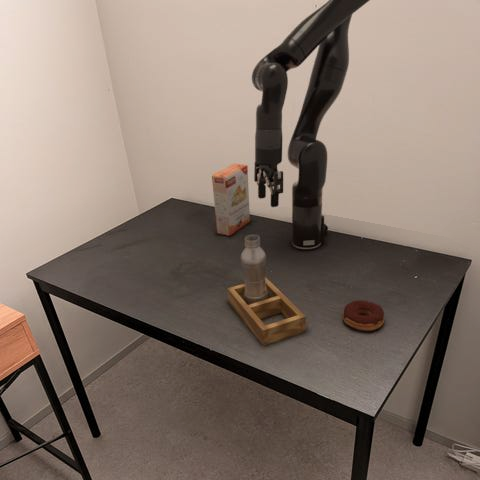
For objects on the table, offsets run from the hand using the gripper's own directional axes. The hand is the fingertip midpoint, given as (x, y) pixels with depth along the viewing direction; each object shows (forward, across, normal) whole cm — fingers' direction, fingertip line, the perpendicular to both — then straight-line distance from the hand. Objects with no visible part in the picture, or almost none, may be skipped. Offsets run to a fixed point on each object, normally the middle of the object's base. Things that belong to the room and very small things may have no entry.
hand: (268, 202), depth 134 cm
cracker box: (+18, +26, +1) cm, 31 cm away
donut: (+18, -43, -5) cm, 47 cm away
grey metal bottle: (+19, -25, +15) cm, 34 cm away
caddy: (+18, -30, +15) cm, 38 cm away
